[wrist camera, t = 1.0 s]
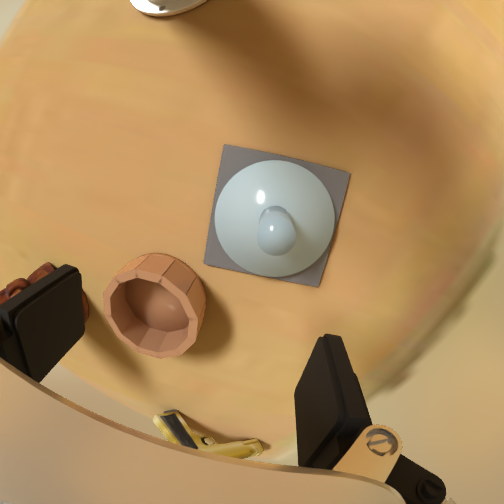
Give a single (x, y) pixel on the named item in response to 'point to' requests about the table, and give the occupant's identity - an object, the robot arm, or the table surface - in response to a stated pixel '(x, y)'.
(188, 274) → the bowl
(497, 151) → the table surface
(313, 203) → the lid
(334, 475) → the robot arm
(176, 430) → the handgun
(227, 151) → the mat
